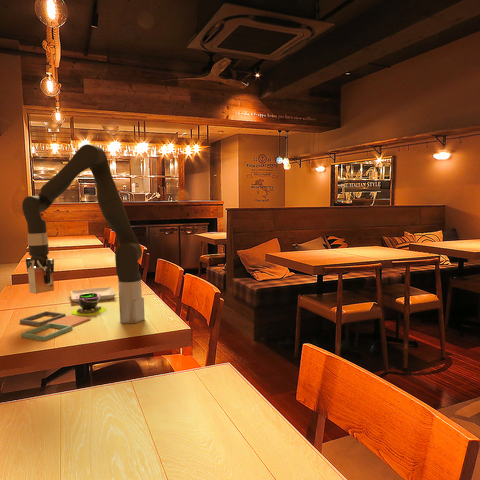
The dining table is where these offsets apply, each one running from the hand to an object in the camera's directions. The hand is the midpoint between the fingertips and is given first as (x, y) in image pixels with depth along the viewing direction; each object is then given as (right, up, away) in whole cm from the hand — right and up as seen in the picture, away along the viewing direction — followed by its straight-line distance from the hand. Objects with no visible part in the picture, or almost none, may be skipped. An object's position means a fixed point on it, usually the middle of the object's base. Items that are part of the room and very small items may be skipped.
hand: (41, 282), depth 170 cm
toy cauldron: (+15, -15, +15) cm, 26 cm away
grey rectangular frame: (0, -16, +2) cm, 16 cm away
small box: (0, -4, 0) cm, 4 cm away
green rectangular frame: (+10, -18, -15) cm, 26 cm away
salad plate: (+7, -13, +40) cm, 42 cm away
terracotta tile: (+13, -16, -2) cm, 21 cm away
